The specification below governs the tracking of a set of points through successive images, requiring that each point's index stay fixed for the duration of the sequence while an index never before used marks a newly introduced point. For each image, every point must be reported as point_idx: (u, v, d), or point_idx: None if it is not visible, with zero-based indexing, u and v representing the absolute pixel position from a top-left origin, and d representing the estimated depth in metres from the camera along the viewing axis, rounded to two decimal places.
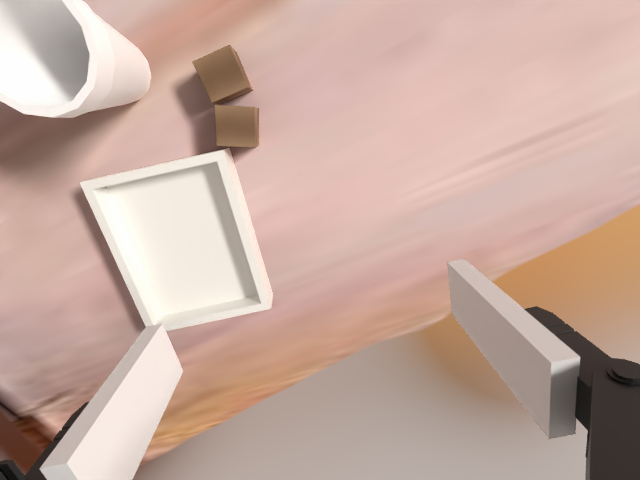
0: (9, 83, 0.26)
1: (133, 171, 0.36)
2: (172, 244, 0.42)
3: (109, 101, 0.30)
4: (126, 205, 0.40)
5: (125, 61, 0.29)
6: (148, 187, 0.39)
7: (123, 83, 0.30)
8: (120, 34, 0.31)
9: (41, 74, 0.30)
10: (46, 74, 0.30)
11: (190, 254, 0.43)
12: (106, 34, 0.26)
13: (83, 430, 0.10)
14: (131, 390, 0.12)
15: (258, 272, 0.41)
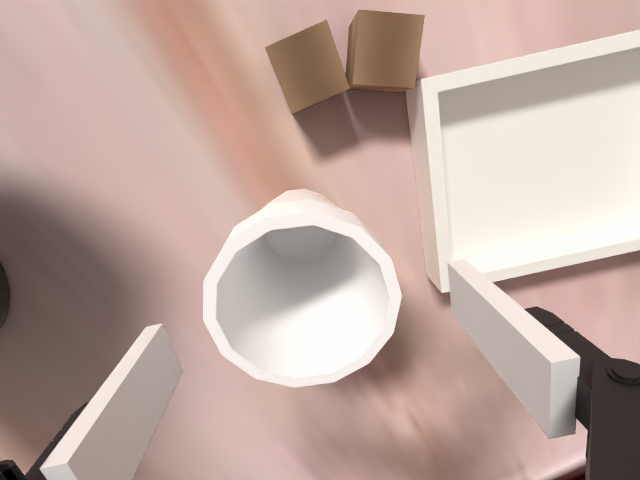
0: (344, 342, 0.19)
1: (436, 223, 0.25)
2: (540, 189, 0.27)
3: None
4: (470, 244, 0.29)
5: (302, 198, 0.20)
6: (451, 212, 0.28)
7: (332, 205, 0.20)
8: (262, 208, 0.23)
9: (318, 306, 0.23)
10: (317, 302, 0.23)
11: (562, 164, 0.27)
12: (274, 204, 0.16)
13: (83, 430, 0.10)
14: (131, 390, 0.12)
15: None
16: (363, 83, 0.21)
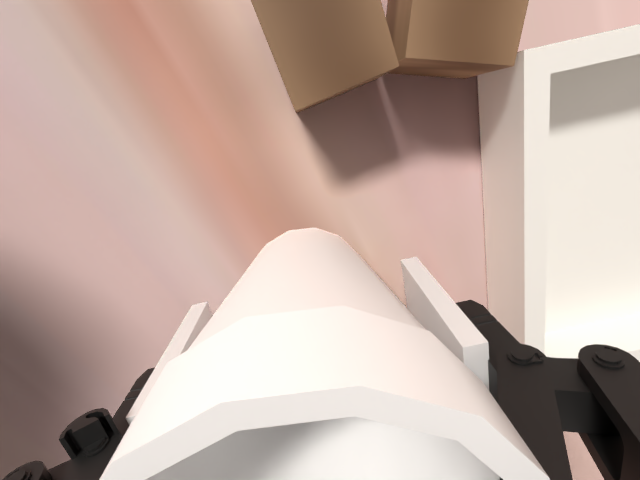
0: None
1: (527, 287, 0.16)
2: None
3: (423, 327, 0.10)
4: (562, 308, 0.19)
5: (315, 271, 0.10)
6: None
7: (371, 284, 0.10)
8: (245, 272, 0.13)
9: (340, 441, 0.13)
10: (338, 430, 0.14)
11: None
12: (255, 321, 0.07)
13: None
14: None
15: None
16: (424, 56, 0.12)
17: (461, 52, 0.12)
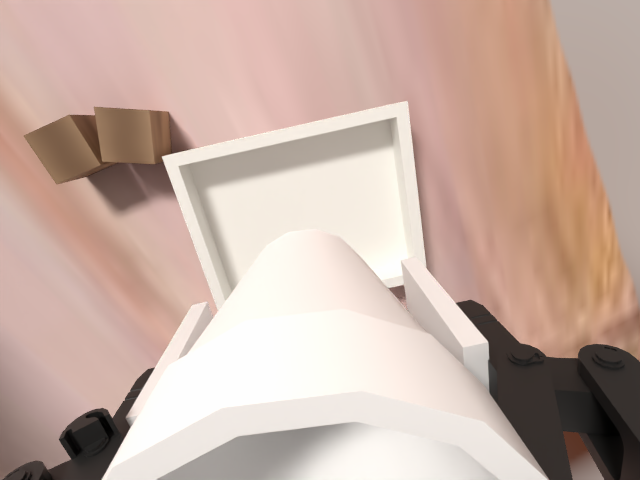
0: None
1: (203, 267, 0.30)
2: None
3: (424, 330, 0.10)
4: None
5: (316, 274, 0.10)
6: (233, 254, 0.33)
7: (372, 287, 0.10)
8: (246, 274, 0.13)
9: (341, 443, 0.13)
10: (339, 432, 0.14)
11: (321, 216, 0.32)
12: (256, 324, 0.07)
13: None
14: None
15: (342, 118, 0.27)
16: (110, 161, 0.27)
17: (127, 159, 0.27)
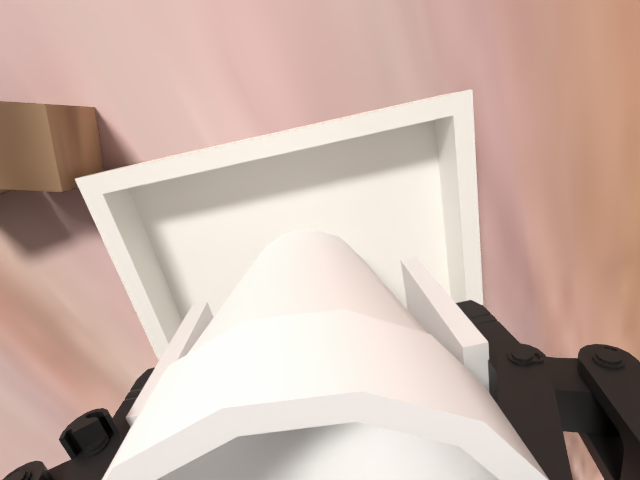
0: None
1: (152, 342, 0.20)
2: None
3: (424, 330, 0.10)
4: None
5: (316, 274, 0.10)
6: None
7: (372, 287, 0.10)
8: (246, 274, 0.13)
9: (341, 444, 0.13)
10: (339, 432, 0.14)
11: None
12: (256, 324, 0.07)
13: None
14: None
15: (367, 117, 0.17)
16: None
17: (16, 184, 0.16)
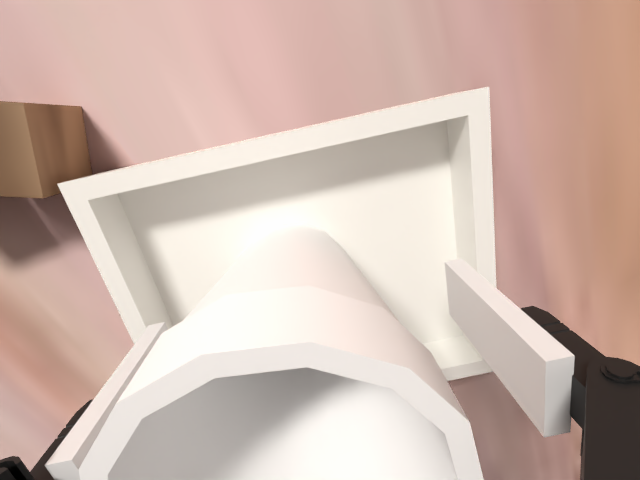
0: None
1: None
2: None
3: (388, 309, 0.12)
4: None
5: (294, 260, 0.12)
6: None
7: (343, 272, 0.12)
8: (235, 263, 0.15)
9: (320, 415, 0.15)
10: (319, 405, 0.15)
11: None
12: (235, 297, 0.08)
13: (87, 427, 0.10)
14: None
15: (374, 117, 0.15)
16: None
17: None
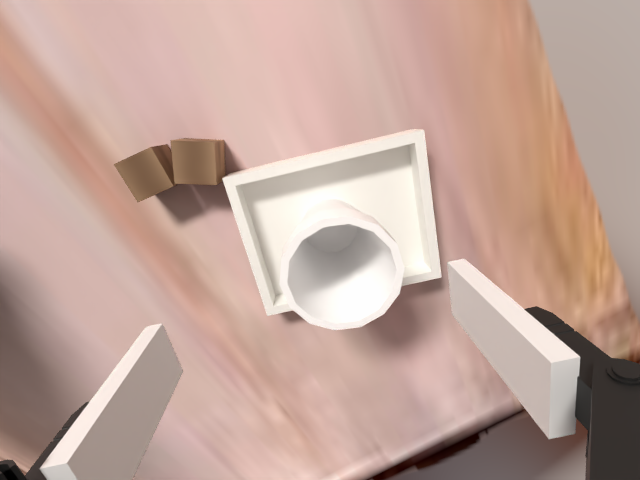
0: (367, 302, 0.28)
1: (253, 268, 0.36)
2: None
3: None
4: None
5: (337, 206, 0.29)
6: (275, 257, 0.39)
7: (357, 210, 0.29)
8: (306, 213, 0.32)
9: (347, 282, 0.32)
10: (346, 279, 0.32)
11: None
12: (322, 211, 0.26)
13: (83, 430, 0.10)
14: (131, 390, 0.12)
15: (370, 144, 0.32)
16: (181, 183, 0.33)
17: (195, 181, 0.33)
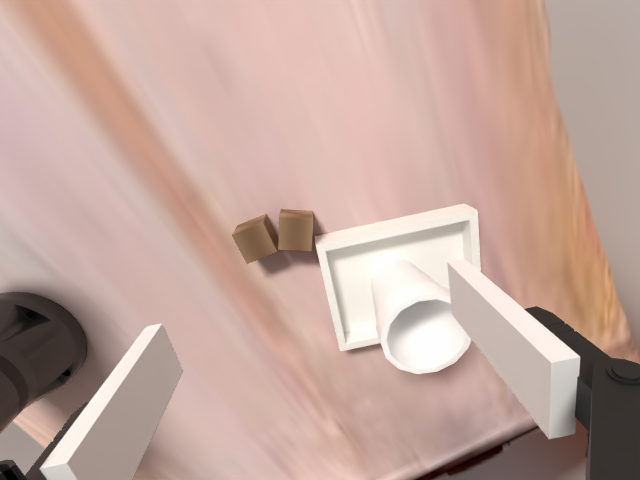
0: (439, 351, 0.36)
1: (332, 314, 0.44)
2: None
3: None
4: (360, 320, 0.48)
5: (415, 275, 0.38)
6: (346, 303, 0.47)
7: (430, 278, 0.38)
8: (384, 275, 0.41)
9: (416, 330, 0.40)
10: (414, 328, 0.41)
11: None
12: (412, 285, 0.34)
13: (83, 430, 0.10)
14: (131, 390, 0.12)
15: (435, 220, 0.41)
16: (284, 249, 0.41)
17: (294, 248, 0.41)
